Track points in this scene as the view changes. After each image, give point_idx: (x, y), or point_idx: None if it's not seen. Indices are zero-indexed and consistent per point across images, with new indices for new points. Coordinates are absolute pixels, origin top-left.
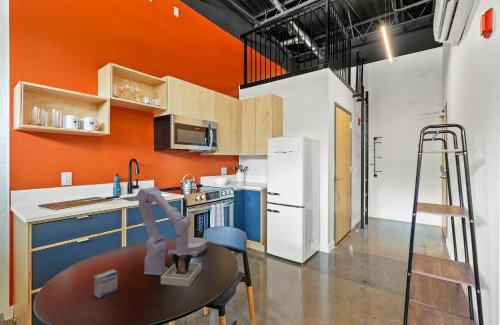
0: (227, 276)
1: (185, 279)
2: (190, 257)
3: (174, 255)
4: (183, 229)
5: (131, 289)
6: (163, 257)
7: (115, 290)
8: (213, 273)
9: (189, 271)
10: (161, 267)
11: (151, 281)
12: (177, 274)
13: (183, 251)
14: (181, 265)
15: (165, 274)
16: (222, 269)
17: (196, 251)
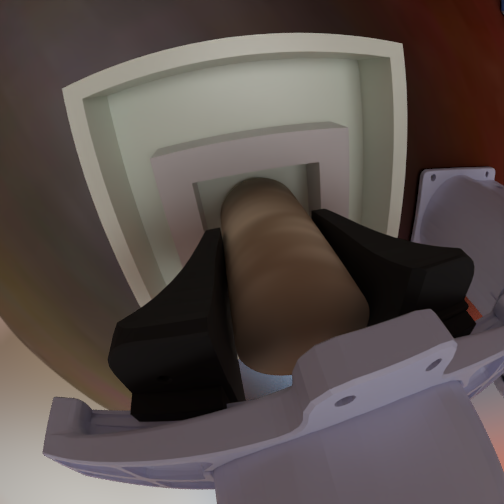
0: (9, 306)
1: (102, 71)
2: (129, 380)
3: (448, 320)
4: None
5: (466, 2)
6: (489, 281)
7: (502, 4)
8: (79, 315)
9: (193, 250)
10: (451, 218)
11: (436, 84)
12: (279, 154)
13: (278, 502)
14: (268, 234)
15: (389, 105)
16: (79, 356)
17: (88, 475)
